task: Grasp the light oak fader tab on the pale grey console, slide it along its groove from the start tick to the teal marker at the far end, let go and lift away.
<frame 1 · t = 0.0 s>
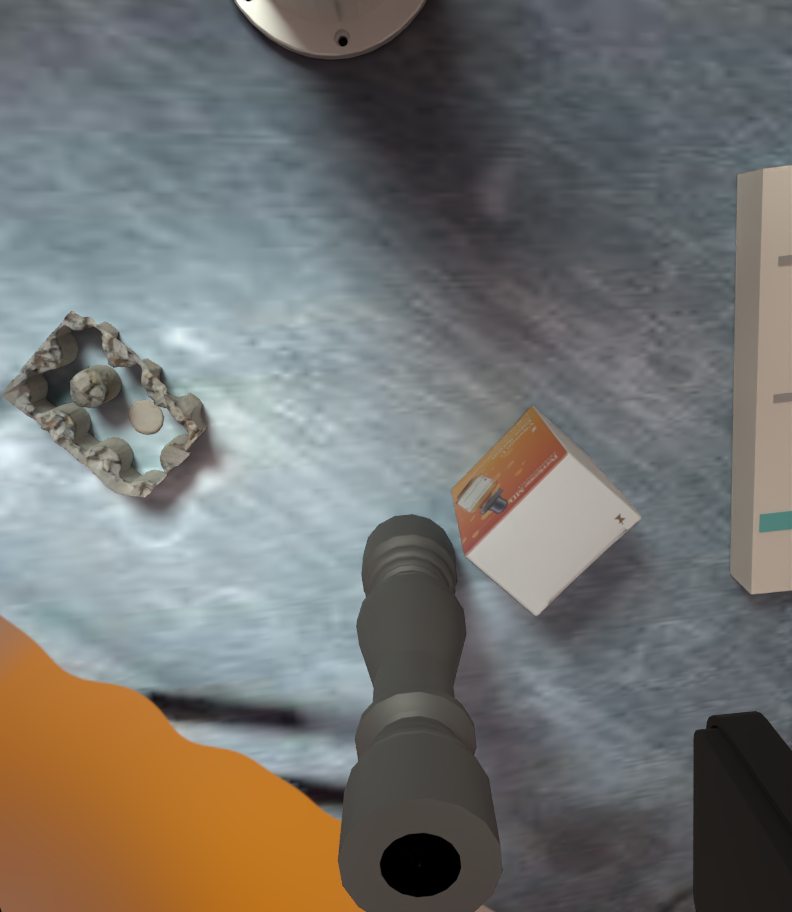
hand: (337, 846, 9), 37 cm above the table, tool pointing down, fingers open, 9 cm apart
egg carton: (126, 400, 45), on the table
candle holder: (408, 555, 48), on the table
small box: (518, 473, 46), on the table
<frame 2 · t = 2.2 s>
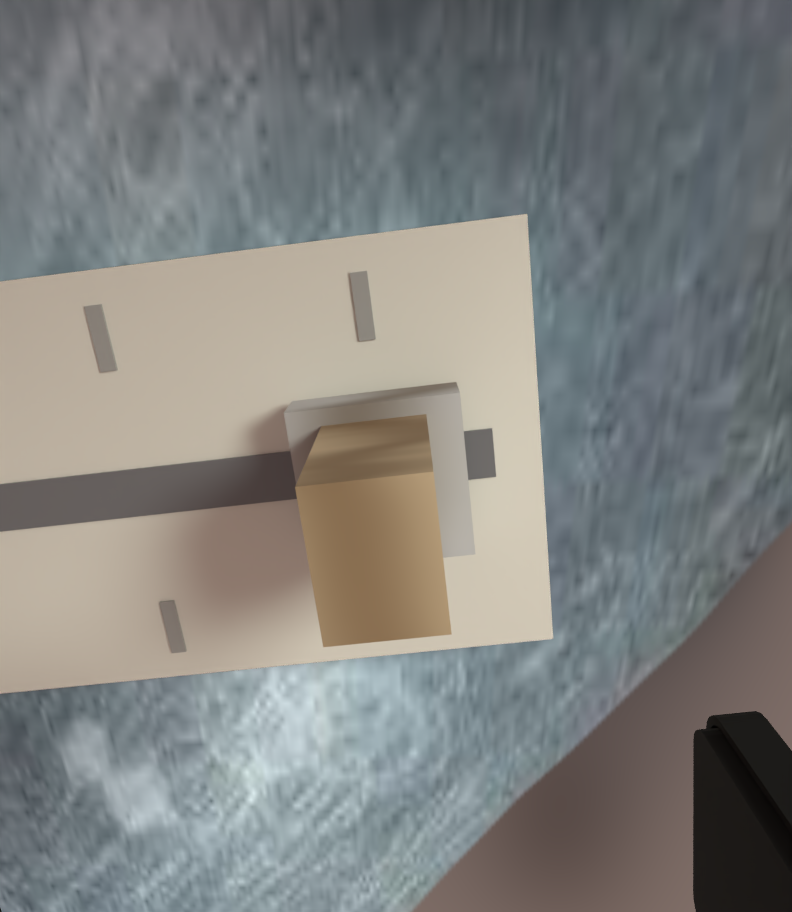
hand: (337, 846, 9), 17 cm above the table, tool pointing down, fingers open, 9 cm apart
fader: (380, 508, 19), point 7 cm above the table, slide at -8.0 cm
console: (169, 462, 25), on the table
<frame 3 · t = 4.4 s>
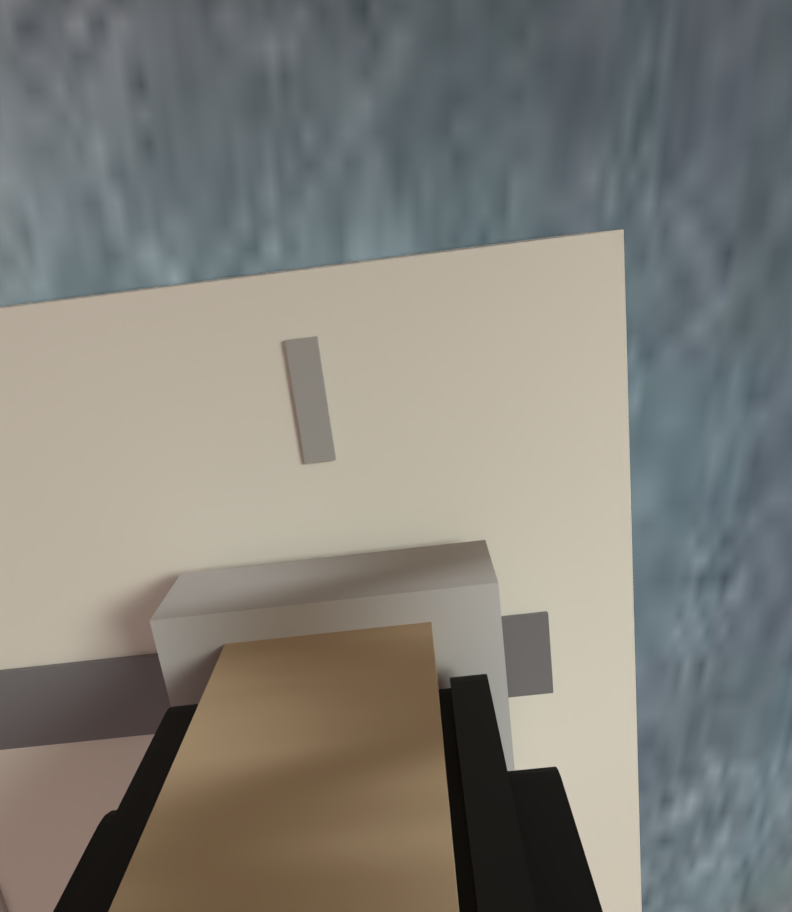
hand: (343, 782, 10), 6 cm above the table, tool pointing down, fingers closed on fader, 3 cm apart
fader: (337, 843, 9), point 7 cm above the table, slide at -8.0 cm, touching gripper
console: (10, 630, 16), on the table
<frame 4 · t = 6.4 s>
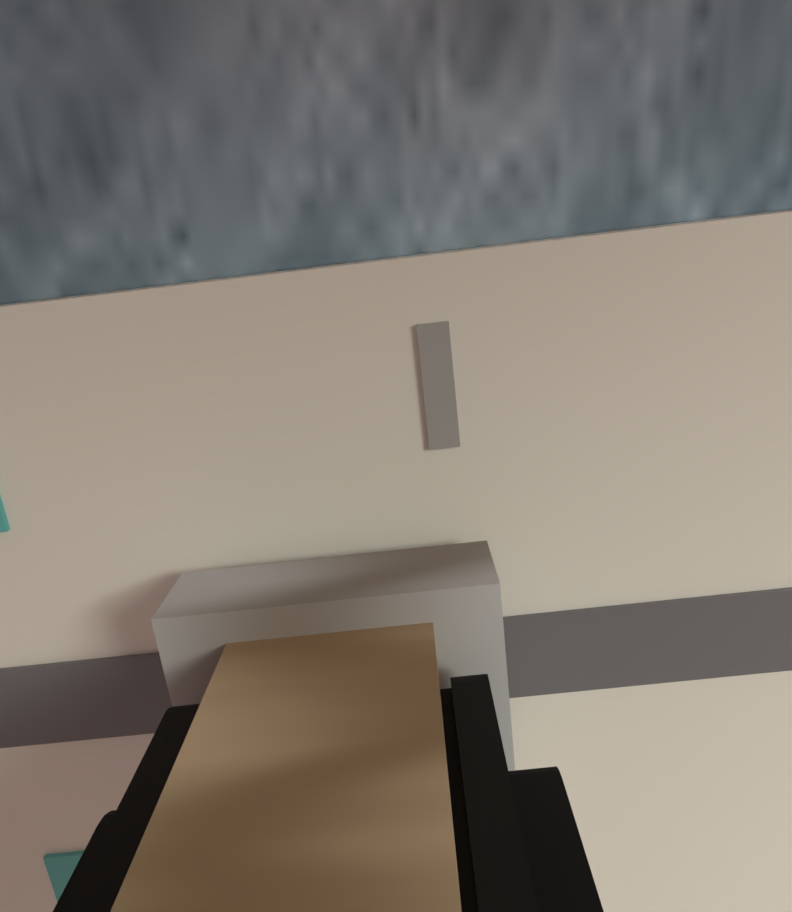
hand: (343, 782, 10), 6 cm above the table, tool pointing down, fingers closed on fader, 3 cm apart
fader: (338, 843, 9), point 7 cm above the table, slide at 2.0 cm, touching gripper
console: (452, 582, 15), on the table
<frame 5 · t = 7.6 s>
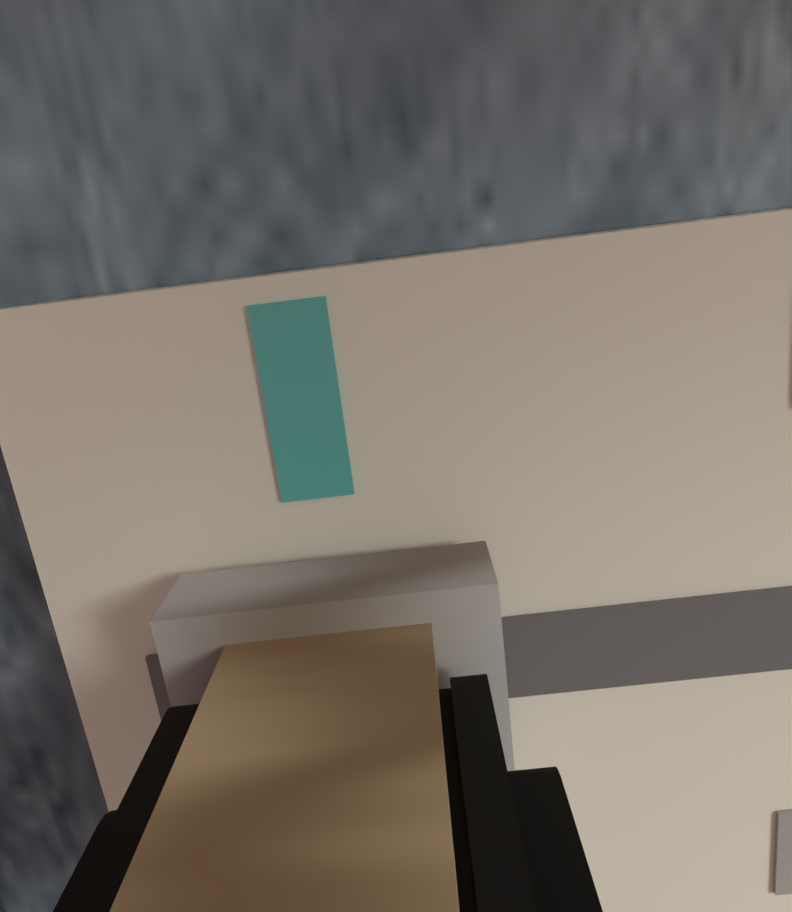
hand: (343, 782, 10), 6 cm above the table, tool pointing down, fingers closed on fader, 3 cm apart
fader: (337, 844, 9), point 7 cm above the table, slide at 7.9 cm, touching gripper
console: (721, 553, 15), on the table
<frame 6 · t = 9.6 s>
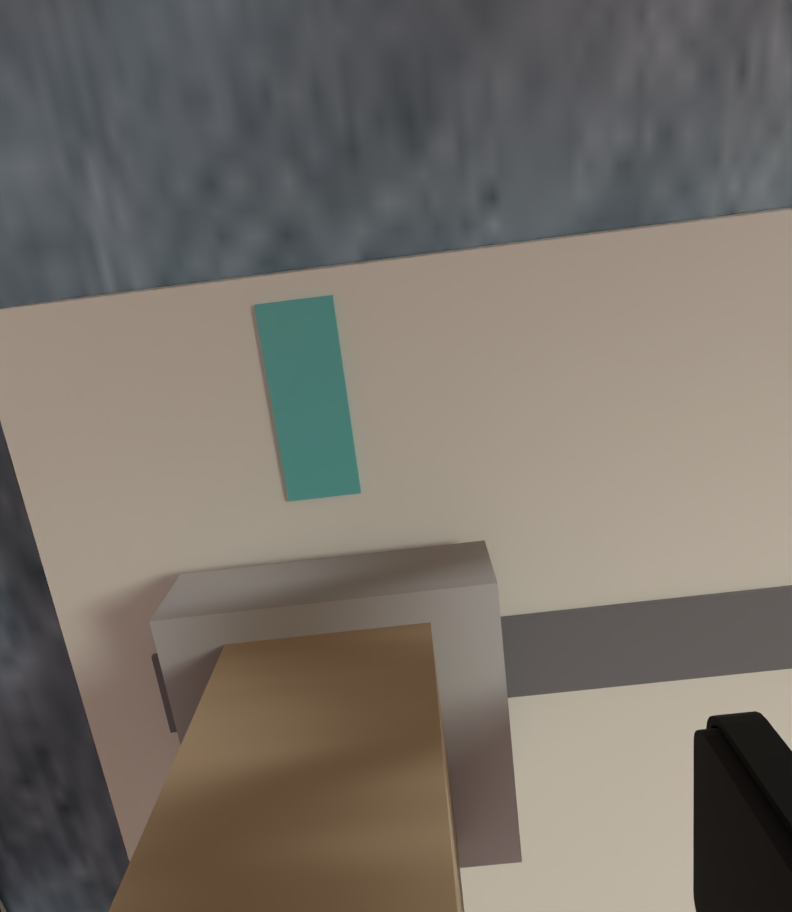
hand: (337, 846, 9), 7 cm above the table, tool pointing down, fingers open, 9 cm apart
fader: (337, 843, 9), point 7 cm above the table, slide at 8.0 cm
console: (726, 552, 15), on the table
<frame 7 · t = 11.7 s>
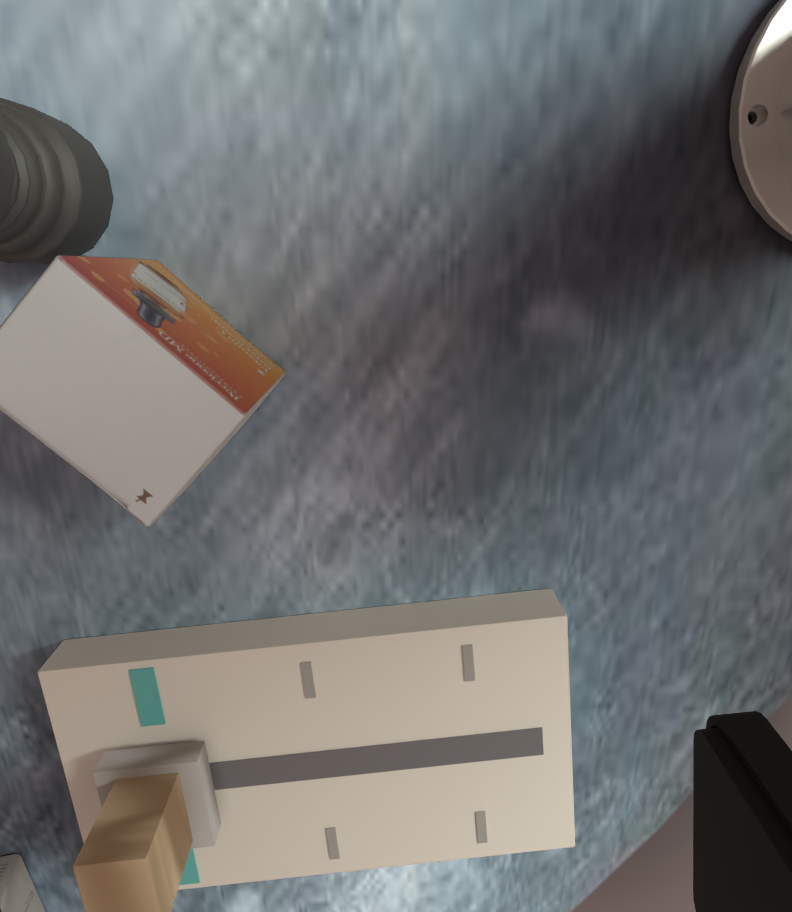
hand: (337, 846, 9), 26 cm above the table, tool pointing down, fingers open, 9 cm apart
fader: (143, 838, 32), point 7 cm above the table, slide at 8.0 cm
candle holder: (44, 191, 31), on the table
small box: (187, 358, 33), on the table
console: (324, 726, 39), on the table
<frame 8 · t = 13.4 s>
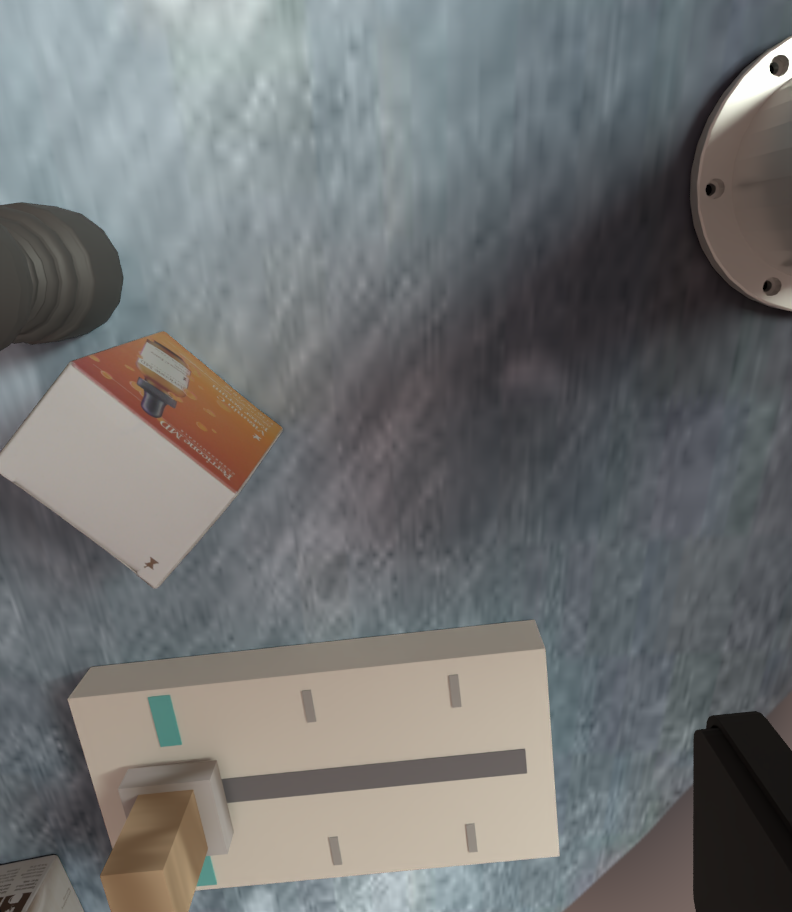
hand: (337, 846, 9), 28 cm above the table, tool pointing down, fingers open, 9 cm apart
fader: (163, 848, 36), point 7 cm above the table, slide at 8.0 cm
coffee box: (41, 910, 46), on the table
candle holder: (62, 273, 34), on the table
small box: (194, 416, 37), on the table
console: (328, 744, 42), on the table
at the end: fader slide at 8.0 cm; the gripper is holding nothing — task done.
